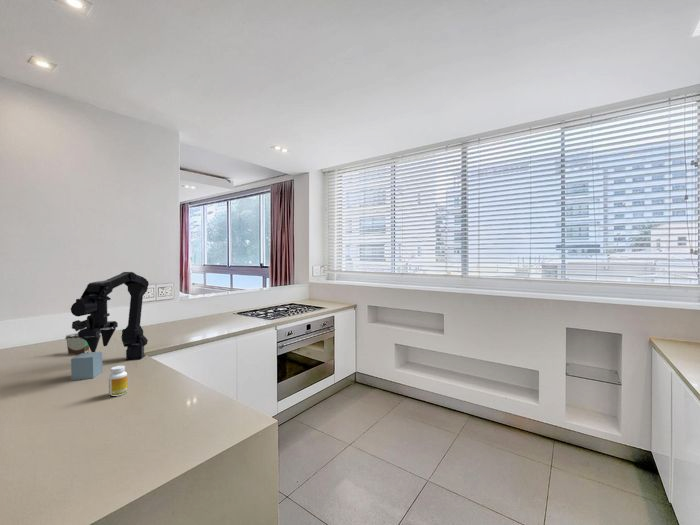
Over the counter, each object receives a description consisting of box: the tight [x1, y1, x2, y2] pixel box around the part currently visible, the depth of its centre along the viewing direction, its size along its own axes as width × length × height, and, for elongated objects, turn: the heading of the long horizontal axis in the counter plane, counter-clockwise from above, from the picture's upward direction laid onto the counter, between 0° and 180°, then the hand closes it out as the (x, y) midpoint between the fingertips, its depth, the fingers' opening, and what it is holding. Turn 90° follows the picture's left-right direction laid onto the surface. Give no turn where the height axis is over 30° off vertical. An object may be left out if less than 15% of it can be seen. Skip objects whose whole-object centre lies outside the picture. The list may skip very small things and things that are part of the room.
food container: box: [65, 332, 90, 355], centre depth 165 cm, size 12×6×10 cm, turn 84°
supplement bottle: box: [108, 365, 128, 396], centre depth 113 cm, size 5×5×10 cm
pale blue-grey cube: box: [70, 351, 103, 381], centre depth 131 cm, size 8×8×9 cm
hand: (99, 349), depth 133 cm, fingers open, 9 cm apart
